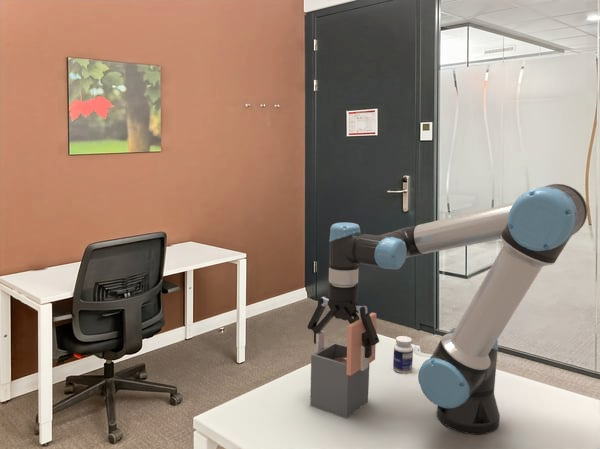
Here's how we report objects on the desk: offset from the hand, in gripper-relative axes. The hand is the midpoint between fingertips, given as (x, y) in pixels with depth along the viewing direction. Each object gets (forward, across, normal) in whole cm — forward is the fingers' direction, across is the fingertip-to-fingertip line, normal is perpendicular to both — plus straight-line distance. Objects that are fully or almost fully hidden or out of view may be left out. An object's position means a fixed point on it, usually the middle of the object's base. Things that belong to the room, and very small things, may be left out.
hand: (341, 362), depth 147 cm
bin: (+12, 0, 0) cm, 12 cm away
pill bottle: (+12, -4, -30) cm, 32 cm away
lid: (-7, -5, 0) cm, 8 cm away
